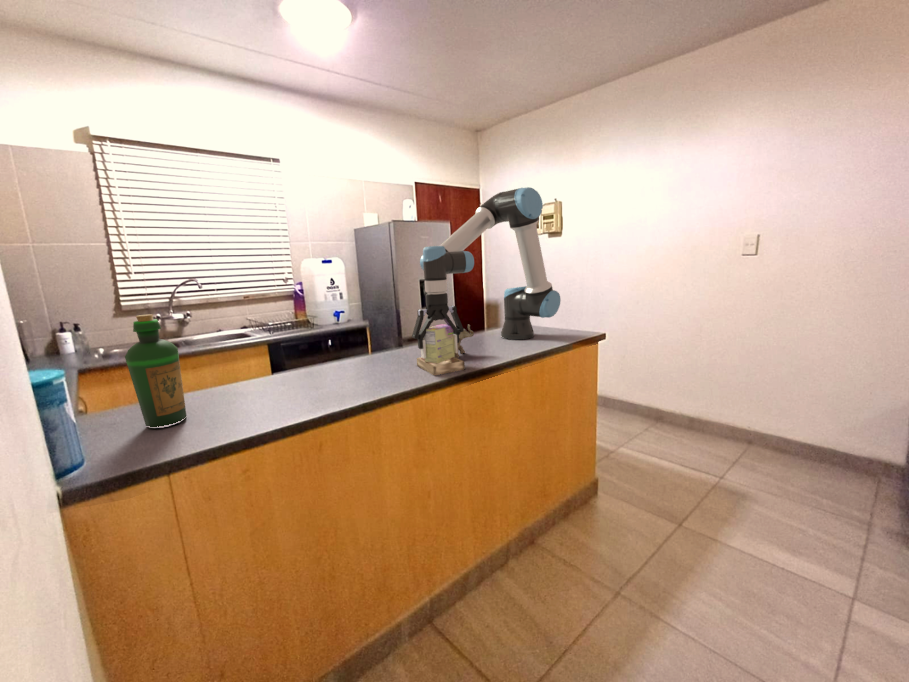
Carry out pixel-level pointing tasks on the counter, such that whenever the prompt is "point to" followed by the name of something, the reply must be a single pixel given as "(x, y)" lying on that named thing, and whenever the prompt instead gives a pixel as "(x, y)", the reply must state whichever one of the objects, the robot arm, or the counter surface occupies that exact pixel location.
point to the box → (439, 343)
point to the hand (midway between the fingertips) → (439, 355)
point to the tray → (441, 366)
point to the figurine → (461, 337)
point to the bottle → (156, 374)
